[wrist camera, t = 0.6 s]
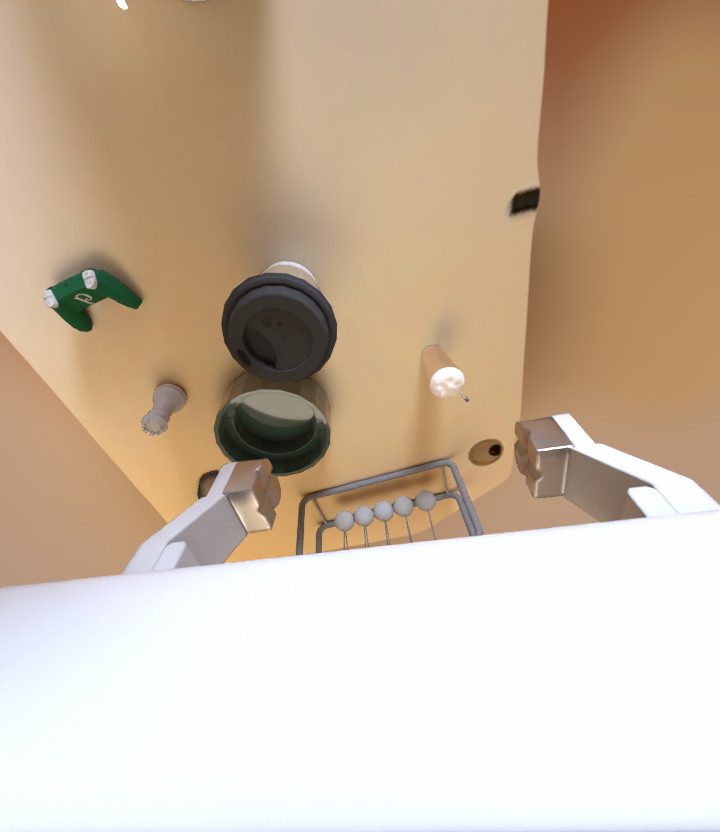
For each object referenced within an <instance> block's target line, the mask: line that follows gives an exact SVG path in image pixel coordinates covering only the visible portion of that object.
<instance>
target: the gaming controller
mask: <svg viewBox="0 0 720 832" xmlns="http://www.w3.org/2000/svg"><path fill="white" fill-rule="evenodd" d="M107 297H109V298H111V299H113V300H115V301H117V302H119V303H121V304H123V305H125V306H127V307H130V308H134V309H138V307H139V306H140V304H141V303H142V301H141V299H140V298H139V297H138V296H137V295H136V294H135V293H134V292H133V291H132V290H131V289H130V288H128V287H127V286H126V285H125V284H123V283H122V282H121V281H120V280H118V279H117V278H115V277H114V276H112V275H110V274H108V273H106V272H105V271H103V270H96V269H92V268H91V269H87V270H84V271H81V273H79V274H77V275H75V276H72V277H70V278H68V279H66V280H64V281H62V282H60V283H58V284H57V285H55V286H52V287H50V288H48V289H47V290H46V291H45V292H44V294H43V299H44V300H45V303H46V305H47V307H49V308H52V309H54V310H55V311H56V312H57V313H58V314H59V315H60V316H61V317H62V318H63V319H64V320H65V321H66V322H67V323H68V324H70V325H71V326H72V327H73V328H75V329H77V330H79V331H84V332H88V331H91V330H92V322H91V320H90V318H89V316H88V315H87V313H86V312H85V311H84V308H86V307H88V306H90V305H92V304H95V303H97V302H99V301H101V300H103V299H105V298H107Z"/></svg>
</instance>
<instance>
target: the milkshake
mask: <svg viewBox="0 0 720 832" xmlns="http://www.w3.org/2000/svg"><path fill="white" fill-rule="evenodd" d="M421 356H422V360H423V363H424V366H425V370H426V373H427V378H428V382H429V386H430V390H431V392H432V393H433V394H434V395H435V396H437V397H439V398H450V397H453V396H454V395H456V394H457V393H458V392H459V394H460V395H461V396H462V397H463V398H464V400H465V401H466V402H467V403H468V402H469V401H470V400H469V399H468V398H467V396H466V395H465V394H464V393H463V392H462V390H461V389H462V387H463V385H464V375H463V373H462V372H461V371H460V370H459V369H458V368H457V366H456V365H455V364H454V363H453V362H452V360H451V359H450V358H449V356H448V355H447V354H446V353H445V351H444V350H443V349H442V348H441V347H439V346H438V345H429V346H428V347H426V348H425V349H424V350H423V353H422V355H421Z"/></svg>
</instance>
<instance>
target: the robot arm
mask: <svg viewBox="0 0 720 832" xmlns="http://www.w3.org/2000/svg"><path fill="white" fill-rule="evenodd" d="M116 1H117V3H118V4H119V6H120V7H122V8H123V9H126V8H127V5H126V3H125V1H124V0H116ZM183 1H189V2H204V1H209V0H183ZM515 434H516V436H517V438H518V440H517V442H516V443H515V444H514V453H515V460H516V463H517V466H518V469H519V471H520V472H521V473H522V474H524V475H525V476H526V484H527V486H528V488H529V490H530V492H531V494H532V496H533V498H545V497H555V496H564V498H566V499H567V500H569V501H570V502H572V503H573V504H575V505H576V506H578V507H579V508H580V509H582V510H584V511H585V512H586V513H588V514H589V515H591V516H592V517H594V518H595V519H597V520H598V521H599V523H591V524H582V525H572V526H564V527H554V528H545V529H536V530H527V531H518V532H508V533H500V534H490V535H480V536H471V537H462V538H452V539H443V540H434V541H425V542H416V543H406V544H397V545H388V546H379V547H370V548H361V549H352V550H343V551H334V552H324V553H315V554H306V555H297V556H288V557H278V558H269V559H260V560H251V561H241V562H232V563H224V562H225V560H226V559H227V558H228V557H229V556H230V555H231V553H232V552H233V551H234V550H235V549H236V548H237V546H238V545H239V544H240V543H241V542H242V540H243V539H244V538H245V537H246V536H247V533H253V532H260V531H266V530H272V526H273V523H274V519H275V516H276V513H275V511H274V508H275V507H276V506H277V505H278V504H279V502H280V498H281V488H280V483H279V481H278V478H277V477H276V476H275V475H273V474H272V473H271V471H272V468H273V467H272V465H271V462H270V460H269V459H267V458H264V459H256V460H248V461H240V462H233V463H226V464H224V465H223V466H222V467H221V469H220V471H219V473H218V475H217V477H216V479H215V481H214V483H213V485H212V487H211V488H210V490H209V492H208V494H207V496H206V497H202V498H201V499H199V500H198V501H197V502H195V503H194V504H193V505H191V506H190V507H189V508H188V509H186V510H185V511H184V512H182V513H181V514H180V515H179V516H177V517H176V518H175V519H173V520H172V521H171V522H169V523H168V524H167V525H166V526H164V527H163V528H162V529H160V530H159V531H158V532H157V533H155V534H154V535H153V536H151V537H150V538H149V539H148V540H146V541H145V542H144V543H142V544H141V545H140V546H139V548H138V549H137V551H136V553H135V554H134V556H133V557H132V559H131V561H130V562H129V564H128V565H127V567H126V569H125V570H124V571H123V573H122V574H121V575H112V576H102V577H93V578H84V579H75V580H65V581H56V582H47V583H39V584H27V585H17V586H7V587H2V588H0V832H720V505H719V504H717V503H716V502H715V501H714V500H713V499H712V498H711V497H710V496H709V495H708V494H707V493H706V492H705V491H703V490H702V489H701V488H700V487H699V486H698V485H697V484H696V483H695V482H694V481H693V480H691V479H689V478H686V477H684V476H681V475H679V474H676V473H674V472H671V471H669V470H666V469H664V468H661V467H659V466H656V465H654V464H651V463H648V462H646V461H643V460H641V459H638V458H636V457H633V456H631V455H628V454H626V453H623V452H621V451H618V450H615V449H613V448H610V447H608V446H605V445H603V444H595V443H594V442H593V441H592V440H591V438H590V437H589V436H588V435H587V434H586V433H585V431H584V430H583V429H582V428H581V427H580V426H579V425H578V423H577V422H576V421H575V420H574V419H573V418H572V417H571V415H569V414H561V415H555V416H550V417H546V418H540V419H534V420H527V421H520V422H516V425H515Z"/></svg>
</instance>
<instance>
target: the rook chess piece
mask: <svg viewBox="0 0 720 832" xmlns="http://www.w3.org/2000/svg"><path fill="white" fill-rule="evenodd" d="M186 401H187V397H186V394H185V393H184V391H183V390H182V389H181V388H180V387H178V386H176V385H173V384H162V385H160V386H158V387H157V388H156V390H155V392H154V393H153V404H154V405H153V408H152V410H150V411H149V412H148V415H145V416H144V417H143V418H142V420H141V423H142V428H144V430H143V431H144V432H145V433H147V432H150V435H152V436H154V434H156V435H160V434H161V433H163V432H165V431H166V430H167V428H168V422H169V421H170V416H171V415H172V414H173V413H175V412H177V411H180V410H181V409H182V408H183V407H184V405H185V404H186Z"/></svg>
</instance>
